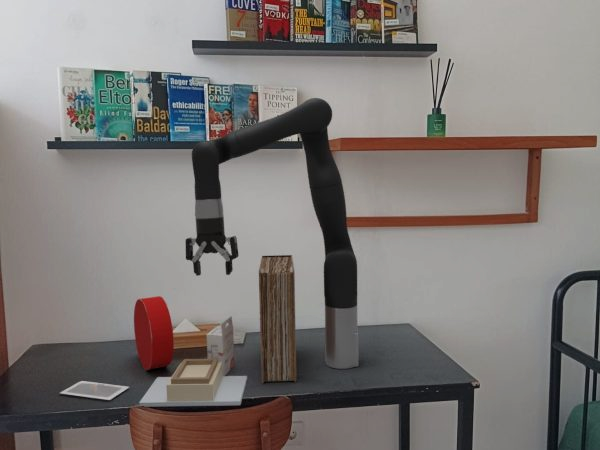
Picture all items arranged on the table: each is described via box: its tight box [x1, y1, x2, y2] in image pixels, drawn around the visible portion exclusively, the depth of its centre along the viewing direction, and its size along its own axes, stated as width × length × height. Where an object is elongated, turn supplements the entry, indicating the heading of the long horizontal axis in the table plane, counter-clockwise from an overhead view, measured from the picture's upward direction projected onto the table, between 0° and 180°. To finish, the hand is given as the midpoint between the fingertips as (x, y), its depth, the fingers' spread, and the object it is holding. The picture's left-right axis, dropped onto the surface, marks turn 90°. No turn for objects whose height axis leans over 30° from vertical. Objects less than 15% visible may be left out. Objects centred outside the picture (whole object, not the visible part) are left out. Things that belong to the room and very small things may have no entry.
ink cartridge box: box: [205, 316, 235, 376], centre depth 138 cm, size 9×5×15 cm, turn 168°
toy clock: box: [133, 295, 175, 371], centre depth 141 cm, size 20×6×20 cm, turn 32°
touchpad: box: [59, 380, 130, 401], centre depth 125 cm, size 8×15×2 cm, turn 73°
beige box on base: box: [138, 358, 248, 408], centre depth 124 cm, size 24×15×6 cm, turn 90°
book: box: [258, 254, 297, 385], centre depth 140 cm, size 25×9×30 cm, turn 2°
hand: (213, 274), depth 136 cm, fingers open, 8 cm apart
